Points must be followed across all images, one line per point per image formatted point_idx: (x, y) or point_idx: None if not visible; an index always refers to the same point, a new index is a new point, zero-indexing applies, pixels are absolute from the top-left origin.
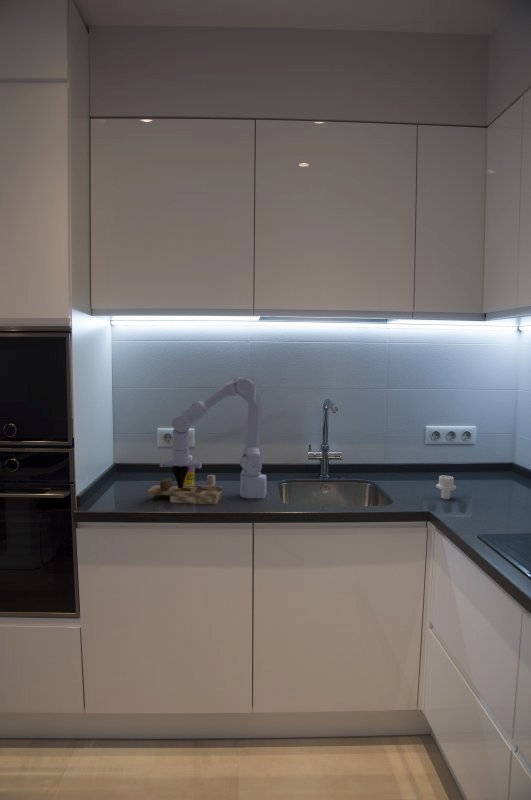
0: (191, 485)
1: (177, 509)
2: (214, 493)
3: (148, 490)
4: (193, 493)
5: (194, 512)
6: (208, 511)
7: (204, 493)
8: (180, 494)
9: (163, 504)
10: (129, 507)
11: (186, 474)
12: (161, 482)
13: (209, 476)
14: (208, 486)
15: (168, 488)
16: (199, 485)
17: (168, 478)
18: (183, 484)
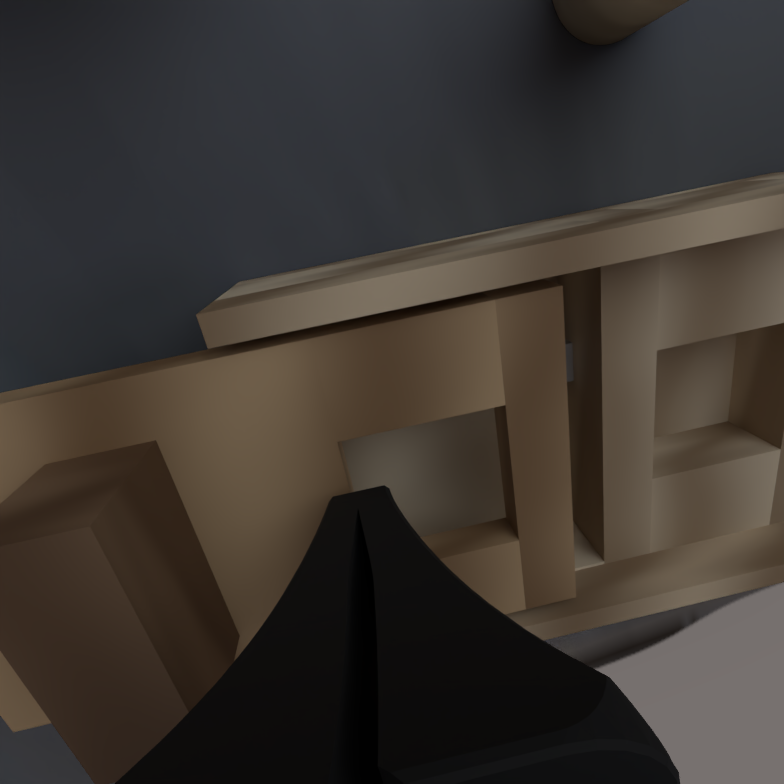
0: (449, 290)
1: None
2: (772, 320)
3: (7, 707)
4: (600, 621)
5: (592, 645)
6: None
7: (726, 591)
8: None
9: None
10: (52, 742)
11: (483, 599)
12: (119, 775)
13: None
14: (737, 236)
15: (213, 594)
16: (583, 239)
17: (24, 550)
18: (395, 505)
